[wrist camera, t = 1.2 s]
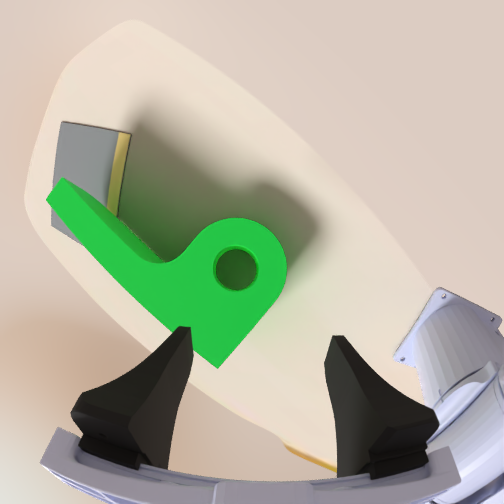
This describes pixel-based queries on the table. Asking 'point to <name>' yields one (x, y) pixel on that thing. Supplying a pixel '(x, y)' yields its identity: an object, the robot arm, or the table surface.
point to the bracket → (182, 271)
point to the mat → (90, 165)
